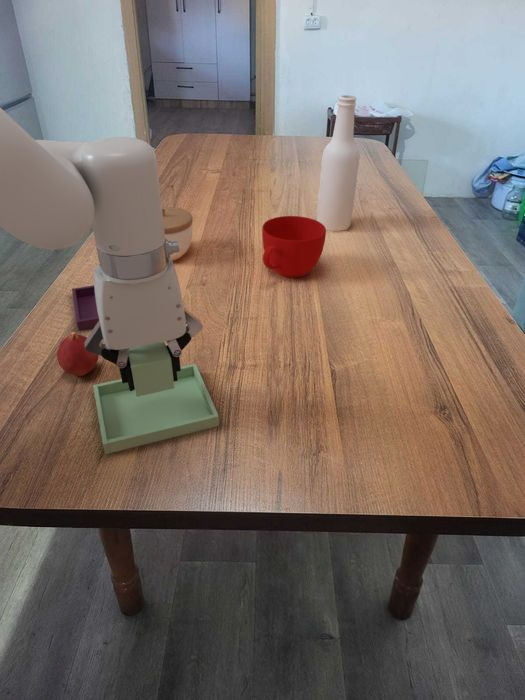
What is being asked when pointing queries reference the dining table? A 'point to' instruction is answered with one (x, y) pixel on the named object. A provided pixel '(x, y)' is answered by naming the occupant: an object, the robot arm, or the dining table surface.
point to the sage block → (151, 368)
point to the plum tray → (85, 307)
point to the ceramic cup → (292, 245)
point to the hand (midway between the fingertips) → (151, 378)
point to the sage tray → (153, 411)
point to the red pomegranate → (75, 355)
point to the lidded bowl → (178, 228)
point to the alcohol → (339, 170)
